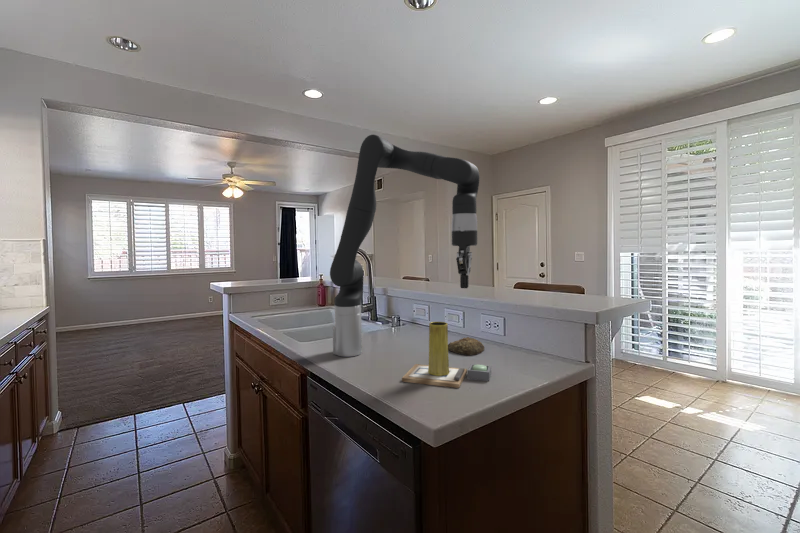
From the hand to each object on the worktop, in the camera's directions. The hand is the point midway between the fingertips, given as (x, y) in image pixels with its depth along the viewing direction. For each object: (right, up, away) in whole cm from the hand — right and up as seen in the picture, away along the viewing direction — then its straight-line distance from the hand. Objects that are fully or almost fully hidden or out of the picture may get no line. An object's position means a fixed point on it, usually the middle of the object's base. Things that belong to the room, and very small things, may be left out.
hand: (464, 287), depth 112 cm
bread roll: (+5, -24, +24) cm, 34 cm away
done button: (+4, -24, -4) cm, 25 cm away
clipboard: (-9, -25, -4) cm, 27 cm away
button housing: (+4, -25, -4) cm, 26 cm away
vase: (-8, -24, -4) cm, 26 cm away
